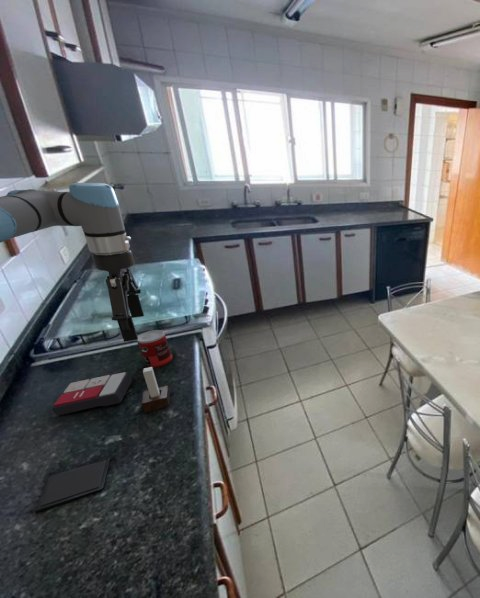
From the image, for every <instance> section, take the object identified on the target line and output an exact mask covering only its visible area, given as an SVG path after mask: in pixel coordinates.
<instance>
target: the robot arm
mask: <svg viewBox="0 0 480 598" xmlns="http://www.w3.org/2000/svg"><path fill="white" fill-rule="evenodd" d="M68 189H69V191H56V190H38V189H37V190H36V189H33V188H32V189H30V188H29V189H14V190H10V191H8V192H7V194H6V195H1V196H0V243H3V242H6V241H8V240H11V239H14V238H18V237H21V236H23V235H28V234H30V233H31V234H32V233H34V232H38V231H41V230H45V229H48V228H52V227H81V229H82V231H83V235H84V238H85V241H86V244H87V247H88V251H89V252H91V253H92V254H91V259H92V261H93V265H94V268H95V269H97V270H99V271H104V272H107V273H108V275H107V276H106V278H105V283H106V287H107V290H108V291H107V292H108V296H109V302H110V307H111V308H110V309H111V311H112V312H111V313H112V316H111V317H110V318H111V320H112V321H116V322H117V324H118V328H119V330H120V333H121V337H122V339H123V342H125V343H126V342H131V341H137V340H138V336H139V335H138V333H137V330H136V328H135V327H136V326H135V325H134V320H133V319H134V318H140V317H141V318H142V317H144V316H145V313H144V310H143V307H142V303H141V299H140V296H139V294H142V290H141V289H139V286H138V284H137V281H136V279H135V278H134V275H133V272H132V270H131V267H133V266H134V265H135V264H136V262H135V258H134V254H133V251H132V250H131V249H130V248H131V245H130V241H131V240H132V237H131V236H130V235H129V236H127V231H126V228H125V224H124V220H123V216H122V212H121V209H120V202H119V201H118V198H117V195H116V193H115V189H114V188H113V187H112V186H111V185H110V184H108V183H103V182H75V183H71V184H69V186H68Z"/></svg>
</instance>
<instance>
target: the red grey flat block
mask: <svg viewBox="0 0 480 598" xmlns="http://www.w3.org/2000/svg"><path fill="white" fill-rule="evenodd" d="M132 382H133V379H132V377H131V375H130V373H129V371H123V372H119V373H115V374H106V375H101V376H98V377H93V378H91V379H84V380H79V381H75V382H70V383H69V385H68V386H67V387H66V388H65V389H64V391H63V392H62V393H61V395H60V396H59V397H58V399H57V400H56V401H55V402H54V404H53V406H52V407H51V409H52V411H53V412H54V414H55V415H56V416H57V417H58V416H63V415H67V414H71V413H75V412H80V411H83V410H84V411H85V410H89V409H92V408H97V407H109V406H114V405H118V404H121V403H122V401H123V399H124V397H125V395H126V394H127V391H128V390H129V388H130V386H131V384H132Z"/></svg>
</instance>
